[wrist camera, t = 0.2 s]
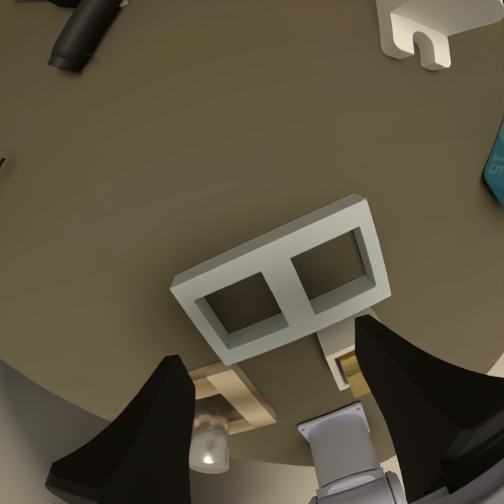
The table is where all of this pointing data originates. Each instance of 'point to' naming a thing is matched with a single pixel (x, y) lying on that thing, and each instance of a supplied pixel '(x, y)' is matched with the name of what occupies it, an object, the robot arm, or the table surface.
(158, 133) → the table surface
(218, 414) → the grey rounded cylinder
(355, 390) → the key
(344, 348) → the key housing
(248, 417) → the wooden square frame
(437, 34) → the cable organizer
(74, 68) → the submachine gun
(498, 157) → the data package
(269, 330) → the frame
